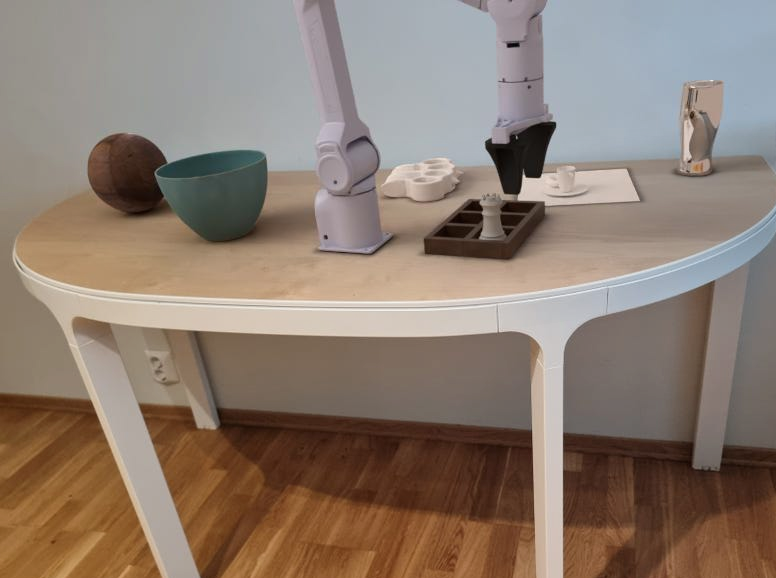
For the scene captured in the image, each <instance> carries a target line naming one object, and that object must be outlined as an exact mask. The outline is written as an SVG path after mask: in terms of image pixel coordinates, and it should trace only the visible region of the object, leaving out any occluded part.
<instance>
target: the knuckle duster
mask: <svg viewBox="0 0 776 578" xmlns="http://www.w3.org/2000/svg"><path fill="white" fill-rule="evenodd" d="M464 174H465V172H464V171H461V170H458V169H457V166H456V164H455V163H453V160H452V159H451V158H448V157H435V158H428V159H425V160H422V161H421V162H416V163H405V164H401V165H397V166H396V167H394V168H393V169H392V170H391V173H390V174H389V175H388V176H387V177H386V180H385V181H384V183H382V185H380V191H381V193H382V194H383V195H384V196H387V197H390V198H397V199H398V198H410V199H412V200H413V201H415V202H420V203H425V202H427V203H428V202H435V201H439V200H442V199H444V198H445V195H446V194H449V193H451V192H453V191H454V190H455V189H456V185H457V184H459V183H461V182H462V181H461V180H460V179H458V178H459V177H461V176H462V175H464Z"/></svg>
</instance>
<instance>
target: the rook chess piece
mask: <svg viewBox="0 0 776 578" xmlns="http://www.w3.org/2000/svg"><path fill="white" fill-rule="evenodd" d="M481 199H482V200H481V201H480V205H481V206H482V207H483V212H482V215H483V219H484V221H483V230H482V232H481V236H480V237H479V239H484V240H501V241H504V240H505V239H506V238H507V236H506V235H505V234H504V231H503V229H502V225H501V220H500V214H501V210H500V205H501V204H502V200H503V199H502V198H501V195H500V193H496V192H491V195H490V192H487V193H485V194H482V195H481Z"/></svg>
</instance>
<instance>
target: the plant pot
mask: <svg viewBox="0 0 776 578" xmlns="http://www.w3.org/2000/svg"><path fill="white" fill-rule="evenodd" d="M167 163H168V164H166V165H163V166H161V167H160V168H158V169H157V170H156V171H155V177H156V180H157V182H158V185H159V187H160V189H161V191H162V193H163V195H164V197H163V198H164V199H165V200H166V202H167V203H168V206H169V207H170V208H171V209H172V211H173V212H174V213H175V214H176V216H177V217H178V218H179V219H180V221H182V222H183V223H184V225H186V226H187V227H188V228H189V229H190V230H192V231H193V232H194V233H195V234H196V235H198V236H200V238H202V239H203V240H206V241H208V242H226V241H231V240H235V239H238V238H241V237H244V236H246V235H248V234H249V233H250V232H252V230H253V229H254V227H255V226H256V224H257V222H258V220H259V218H260V215H261V214H262V210H263V208H264V204H265V201H266V196H267V191H268V181H269V180H268V179H269V178H268V177H269V176H268V175H269V174H268V172H269V171H268V169H269V168H268V160H267V154H266V153H265V152H264V151H261V150H256V149H229V150H220V151H213V152H207V153H201V154H196V155H191V156H187V157H183V158H179V159H176V160H174V161H170V162H167Z"/></svg>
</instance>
